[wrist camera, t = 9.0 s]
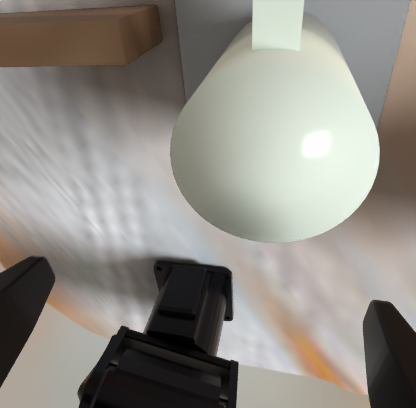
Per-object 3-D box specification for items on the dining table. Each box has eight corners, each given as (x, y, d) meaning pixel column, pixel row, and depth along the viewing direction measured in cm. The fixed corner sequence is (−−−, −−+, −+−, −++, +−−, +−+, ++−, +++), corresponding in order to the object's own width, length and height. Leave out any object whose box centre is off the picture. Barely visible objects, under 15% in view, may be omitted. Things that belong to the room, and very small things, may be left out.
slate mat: (365, 165, 18) (366, 167, 18) (193, 157, 20) (192, 159, 20) (426, -67, 12) (428, -68, 12) (171, -45, 14) (169, -45, 14)
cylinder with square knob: (330, 129, 17) (354, 250, 10) (225, 126, 18) (181, 233, 11) (360, -42, 13) (437, -37, 6) (220, -32, 14) (143, -16, 7)
